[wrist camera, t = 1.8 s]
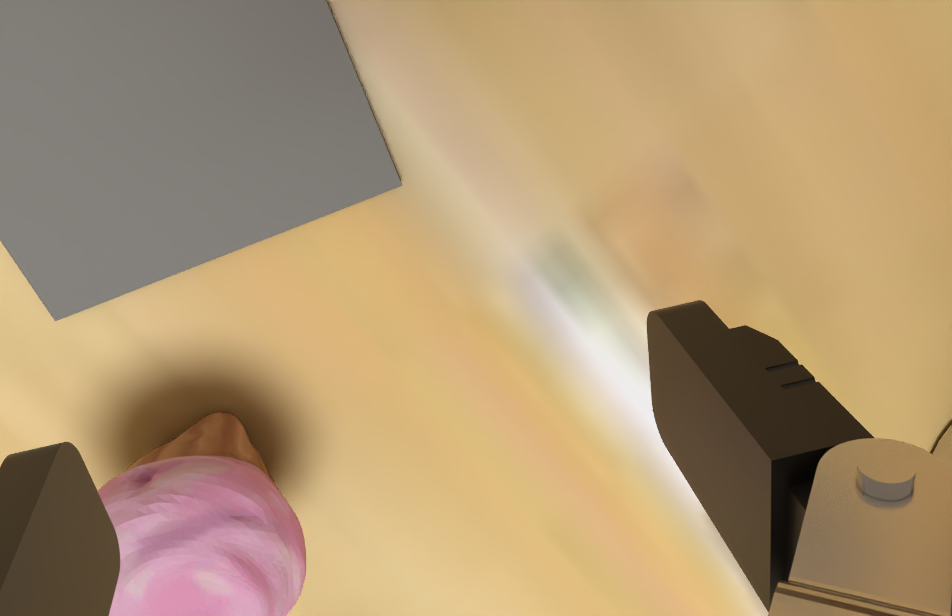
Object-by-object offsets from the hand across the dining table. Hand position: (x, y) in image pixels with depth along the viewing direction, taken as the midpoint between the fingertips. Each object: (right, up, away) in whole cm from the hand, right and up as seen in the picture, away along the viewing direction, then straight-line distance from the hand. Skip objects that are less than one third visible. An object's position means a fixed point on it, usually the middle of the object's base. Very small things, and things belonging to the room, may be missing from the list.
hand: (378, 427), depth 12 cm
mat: (-12, +11, +19) cm, 25 cm away
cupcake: (-11, -5, +28) cm, 30 cm away
